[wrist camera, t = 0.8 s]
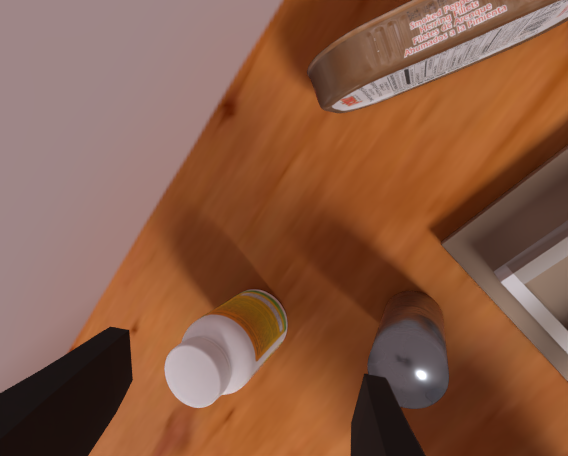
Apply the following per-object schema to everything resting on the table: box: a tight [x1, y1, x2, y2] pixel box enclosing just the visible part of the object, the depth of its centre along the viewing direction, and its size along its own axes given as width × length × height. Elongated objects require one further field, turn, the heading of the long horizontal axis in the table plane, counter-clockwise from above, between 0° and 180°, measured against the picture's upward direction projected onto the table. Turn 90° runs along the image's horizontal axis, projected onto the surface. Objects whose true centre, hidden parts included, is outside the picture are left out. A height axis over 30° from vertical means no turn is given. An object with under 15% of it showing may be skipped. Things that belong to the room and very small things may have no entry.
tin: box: [307, 0, 568, 113], centre depth 20 cm, size 15×3×8 cm, turn 109°
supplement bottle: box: [165, 289, 288, 408], centre depth 27 cm, size 5×5×10 cm
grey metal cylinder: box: [368, 291, 449, 409], centre depth 23 cm, size 4×4×8 cm
